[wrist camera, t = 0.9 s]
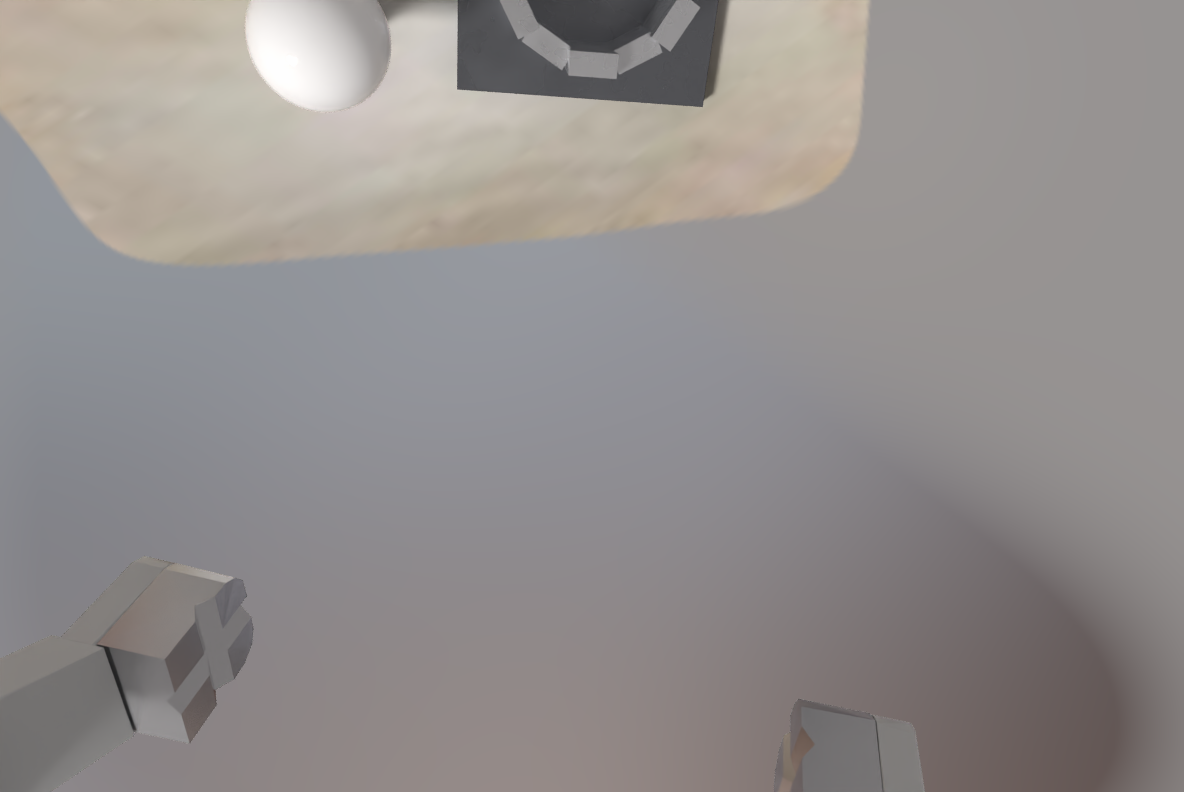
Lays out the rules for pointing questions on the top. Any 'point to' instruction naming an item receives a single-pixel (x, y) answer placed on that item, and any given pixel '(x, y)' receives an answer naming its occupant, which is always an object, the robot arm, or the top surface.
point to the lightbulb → (319, 50)
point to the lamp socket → (588, 48)
